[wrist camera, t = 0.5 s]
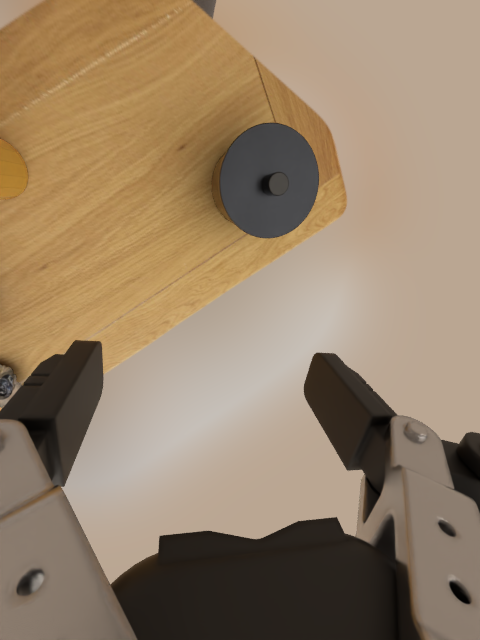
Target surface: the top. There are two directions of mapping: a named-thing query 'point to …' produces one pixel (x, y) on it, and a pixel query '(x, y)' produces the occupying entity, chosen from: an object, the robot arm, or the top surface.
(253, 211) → the pot lid
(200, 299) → the top surface
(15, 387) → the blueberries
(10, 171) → the cup
